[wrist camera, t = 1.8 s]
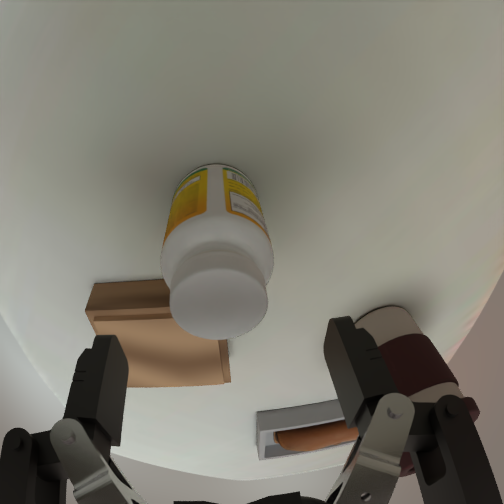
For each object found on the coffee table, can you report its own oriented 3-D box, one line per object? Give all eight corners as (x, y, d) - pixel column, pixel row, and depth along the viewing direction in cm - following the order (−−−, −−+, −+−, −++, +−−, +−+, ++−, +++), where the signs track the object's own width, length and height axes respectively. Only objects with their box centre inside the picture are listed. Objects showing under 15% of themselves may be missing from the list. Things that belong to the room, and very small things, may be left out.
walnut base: (94, 283, 23) (83, 315, 20) (220, 275, 24) (222, 308, 21) (127, 360, 29) (123, 390, 26) (228, 356, 30) (231, 386, 27)
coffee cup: (331, 309, 28) (390, 467, 16) (426, 282, 28) (506, 410, 16) (331, 368, 34) (369, 492, 21) (410, 344, 34) (462, 453, 21)
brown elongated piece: (273, 445, 43) (279, 473, 36) (269, 410, 42) (276, 436, 36) (382, 421, 44) (400, 443, 38) (385, 385, 44) (405, 405, 37)
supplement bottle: (259, 162, 19) (296, 252, 12) (253, 236, 23) (279, 346, 15) (170, 162, 19) (144, 255, 11) (175, 237, 22) (162, 351, 14)
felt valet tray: (256, 411, 37) (259, 430, 35) (414, 380, 39) (421, 396, 37) (256, 445, 45) (259, 460, 42) (387, 419, 47) (392, 432, 44)
